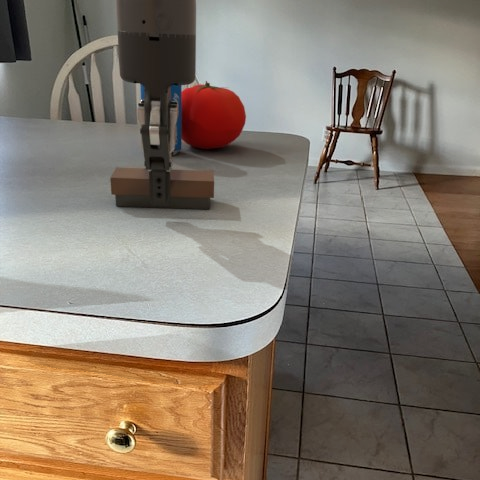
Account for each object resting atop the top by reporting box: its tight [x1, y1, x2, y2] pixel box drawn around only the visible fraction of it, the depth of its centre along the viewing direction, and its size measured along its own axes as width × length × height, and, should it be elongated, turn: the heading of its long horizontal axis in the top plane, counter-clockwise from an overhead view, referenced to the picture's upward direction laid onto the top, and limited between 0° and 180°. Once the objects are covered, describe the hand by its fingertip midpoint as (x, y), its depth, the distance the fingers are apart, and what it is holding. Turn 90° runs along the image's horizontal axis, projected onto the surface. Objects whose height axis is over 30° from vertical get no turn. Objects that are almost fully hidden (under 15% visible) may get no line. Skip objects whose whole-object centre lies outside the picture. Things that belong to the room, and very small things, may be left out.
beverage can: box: [139, 83, 182, 156], centre depth 88 cm, size 6×6×12 cm
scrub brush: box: [109, 167, 215, 210], centre depth 66 cm, size 12×5×4 cm, turn 94°
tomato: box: [181, 80, 247, 150], centre depth 94 cm, size 13×12×11 cm
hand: (160, 203), depth 61 cm, fingers closed
